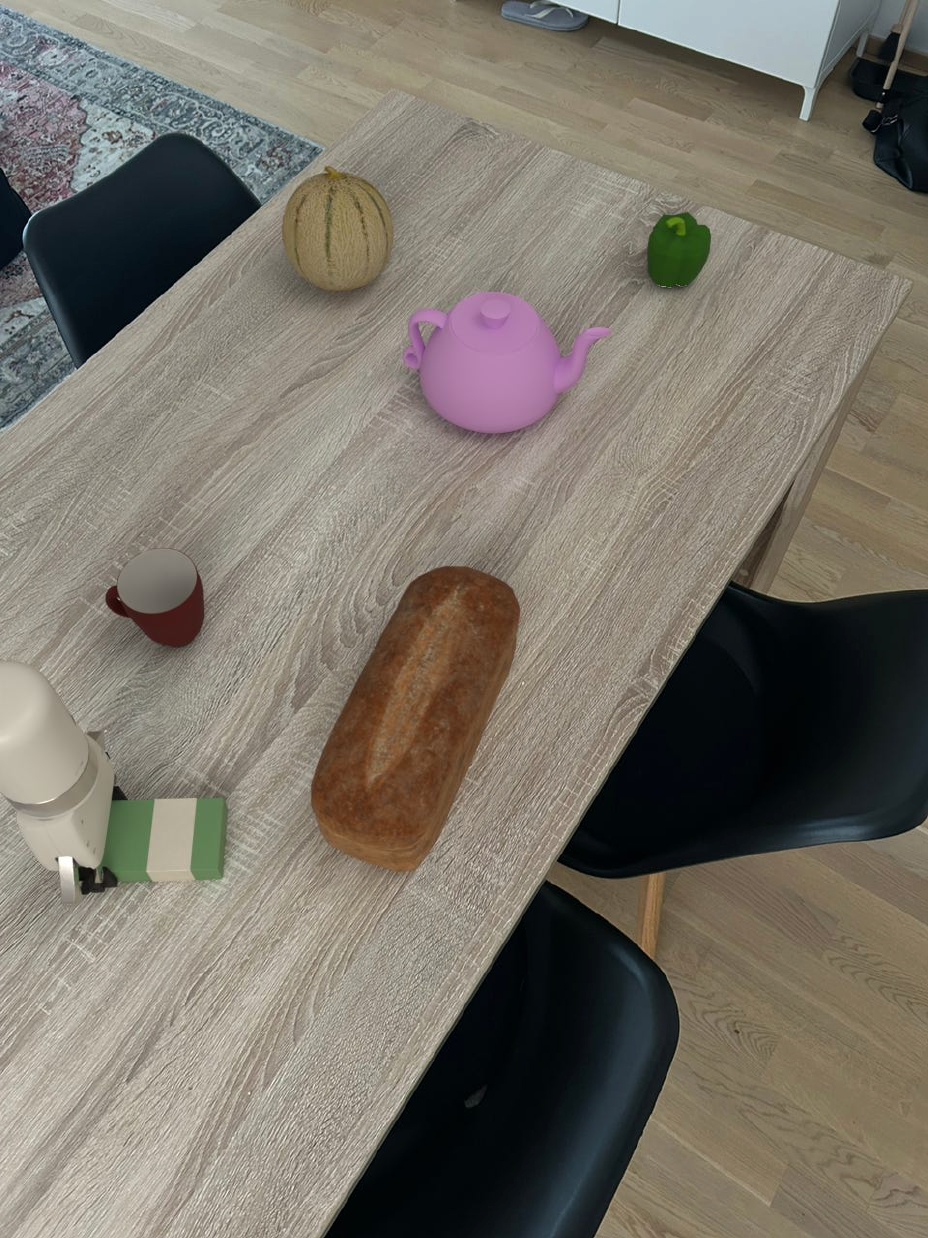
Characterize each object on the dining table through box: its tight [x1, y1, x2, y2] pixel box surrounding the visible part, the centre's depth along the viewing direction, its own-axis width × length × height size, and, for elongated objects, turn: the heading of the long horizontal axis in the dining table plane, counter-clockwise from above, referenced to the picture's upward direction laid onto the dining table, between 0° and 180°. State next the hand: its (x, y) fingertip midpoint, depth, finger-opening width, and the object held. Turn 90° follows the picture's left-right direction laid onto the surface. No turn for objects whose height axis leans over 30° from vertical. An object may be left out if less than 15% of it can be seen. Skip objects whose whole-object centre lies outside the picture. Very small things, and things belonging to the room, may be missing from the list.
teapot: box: [402, 291, 612, 435], centre depth 126 cm, size 25×18×14 cm
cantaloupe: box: [281, 165, 394, 292], centre depth 136 cm, size 15×15×15 cm
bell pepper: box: [646, 211, 712, 288], centre depth 139 cm, size 8×8×10 cm
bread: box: [310, 565, 521, 873], centre depth 100 cm, size 12×31×14 cm, turn 158°
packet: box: [78, 797, 229, 883], centre depth 98 cm, size 13×7×3 cm, turn 93°
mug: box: [104, 547, 205, 649], centre depth 108 cm, size 11×8×10 cm
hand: (106, 843), depth 98 cm, fingers closed on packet, 7 cm apart
